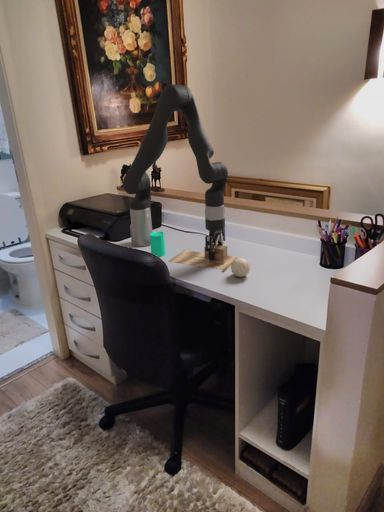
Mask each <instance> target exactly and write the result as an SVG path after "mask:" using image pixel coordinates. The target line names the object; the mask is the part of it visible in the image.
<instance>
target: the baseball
mask: <svg viewBox="0 0 384 512" xmlns="http://www.w3.org/2000/svg"><path fill="white" fill-rule="evenodd" d="M230 269H231V272H232V274H233V275H234V276H235V277H240V278H243V277H246V276H247V275H248V274H249V272H250V270H251V266H250V262H249V261H248V260H247V259H245V258H243V257H238V258H237V259H235V260H234V261H233V262H232V264H231V266H230Z"/></svg>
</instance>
